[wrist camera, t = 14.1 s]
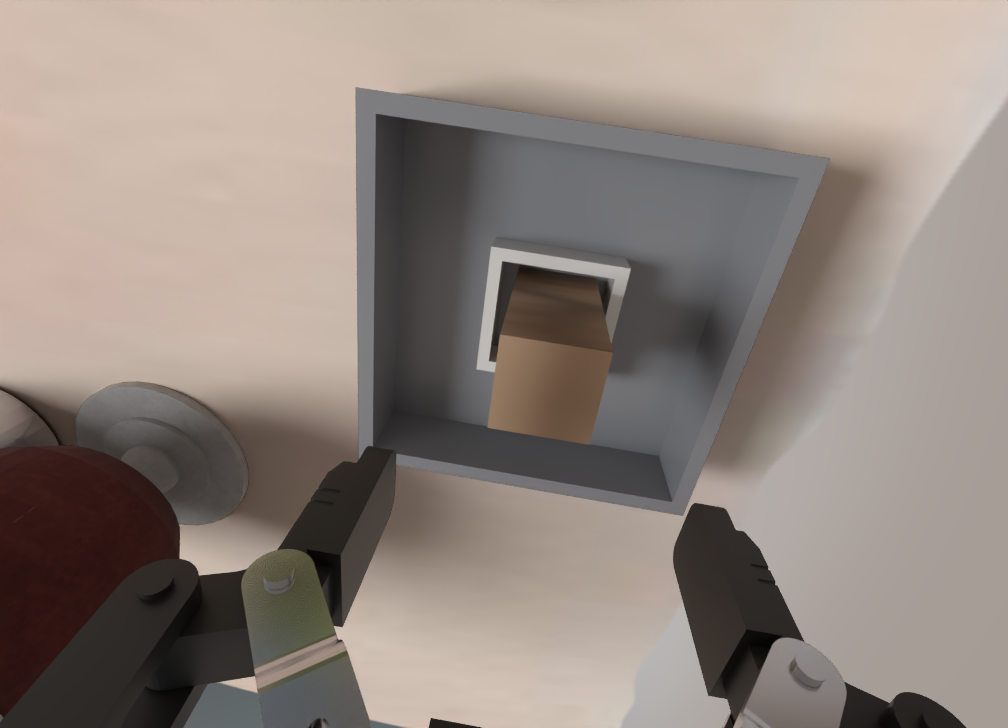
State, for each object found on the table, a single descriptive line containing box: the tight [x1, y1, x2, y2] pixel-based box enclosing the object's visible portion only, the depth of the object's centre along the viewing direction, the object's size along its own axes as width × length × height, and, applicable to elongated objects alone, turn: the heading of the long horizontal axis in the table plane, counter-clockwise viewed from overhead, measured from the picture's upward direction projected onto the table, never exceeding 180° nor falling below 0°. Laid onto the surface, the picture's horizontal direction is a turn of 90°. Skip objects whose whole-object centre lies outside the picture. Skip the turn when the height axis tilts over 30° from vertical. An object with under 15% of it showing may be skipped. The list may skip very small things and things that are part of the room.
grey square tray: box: [356, 87, 830, 516], centre depth 24 cm, size 18×18×5 cm
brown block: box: [487, 266, 613, 445], centre depth 22 cm, size 4×4×9 cm
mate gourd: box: [0, 382, 249, 722], centre depth 26 cm, size 16×14×20 cm
